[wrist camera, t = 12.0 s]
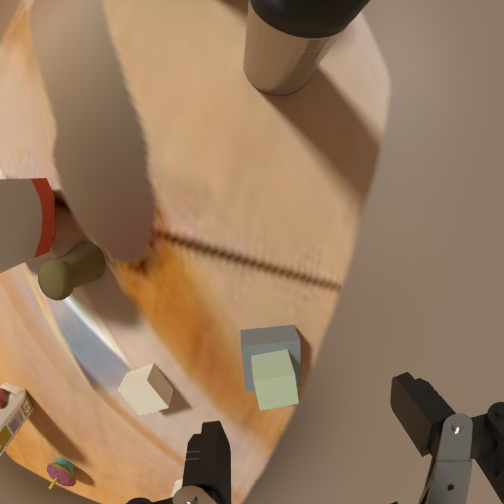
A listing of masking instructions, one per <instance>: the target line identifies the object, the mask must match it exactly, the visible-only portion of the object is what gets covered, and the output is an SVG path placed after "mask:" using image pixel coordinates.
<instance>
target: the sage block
mask: <svg viewBox="0 0 504 504" xmlns="http://www.w3.org/2000/svg"><path fill="white" fill-rule="evenodd" d="M251 361H252V372H253V382H254V386H255V391H256V395H257V399H258V404H259V408H260V410H266V409H272V408H277V407H282V406H288V405H293V404H297V403H299V402H298V394H297V386H296V378H295V373H294V369H293V366H292V363H291V360H290V356H289V353H288V350H287V349H286V350H280V351H275V352H270V353H264V354H259V355H253V356H251Z"/></svg>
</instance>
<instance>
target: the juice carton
mask: <svg viewBox="0 0 504 504" xmlns="http://www.w3.org/2000/svg"><path fill="white" fill-rule="evenodd" d="M32 411H33V406H32V404H31V401H30V399H29V397H28V394H27V392H26V390H25V389H24V388H21V387H18V386H15V385H13V384H10V383H8V382H5V383H4V384H3V385H2V386H1V387H0V456H1V455H2V453H3V452H4V450H5V449H6V447H7V446H8V445H9V443H10V442H11V440H12V439H13V437H14V436H15V435H16V433H17V432H18V430H19V429H20V428H21V426H22V425H23V424H24V422H25V421H26V420H27V418H28V417H29V415H30V414H31V413H32Z"/></svg>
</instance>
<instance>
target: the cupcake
mask: <svg viewBox="0 0 504 504" xmlns="http://www.w3.org/2000/svg"><path fill="white" fill-rule="evenodd" d="M47 472H48V474H49V475H50V477H51V478H53V479H54V481H53V482H52V484H51V485H50V487H49V489H52V487H53V486H54V484H55V483H56V482H58V483H59V484H61V485H63V486H74V485H75V484H76V478H75V476H74V466H73V465H72V464H71V463H70V462H69V461H67V460H65V459H63V458H59V459H58V460H56V461H55V462H53V463H49V464H48V466H47Z"/></svg>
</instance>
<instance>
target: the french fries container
mask: <svg viewBox="0 0 504 504" xmlns="http://www.w3.org/2000/svg"><path fill="white" fill-rule="evenodd" d="M55 232H56V227H55V195H54V193H53V191H52V189H51V187H50V185H49V183H48V181H47V178H37V179H2V180H0V273H1V272H4V271H6V270H8V269H10V268H12V267H15V266H17V265H19V264H21V263H24V262H26V261H28V260H30V259H33V258H35V257H38V256H40V255H42V254H45V253H47V252H49V249H50V246H51V243H52V240H53V237H54V235H55Z"/></svg>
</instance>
